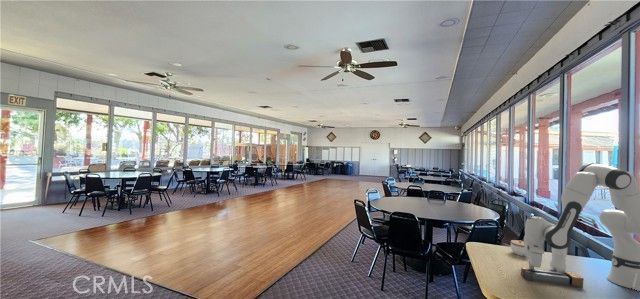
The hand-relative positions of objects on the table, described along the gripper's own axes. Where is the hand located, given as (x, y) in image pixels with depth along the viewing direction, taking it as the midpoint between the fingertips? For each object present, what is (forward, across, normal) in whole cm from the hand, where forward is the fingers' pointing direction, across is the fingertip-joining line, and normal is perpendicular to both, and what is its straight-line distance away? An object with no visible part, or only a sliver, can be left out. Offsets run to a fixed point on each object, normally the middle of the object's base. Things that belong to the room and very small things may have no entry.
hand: (531, 268), depth 162 cm
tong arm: (+2, +4, +5) cm, 7 cm away
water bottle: (+3, -14, +16) cm, 21 cm away
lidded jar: (+3, -32, 0) cm, 33 cm away
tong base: (+3, +5, +8) cm, 10 cm away
